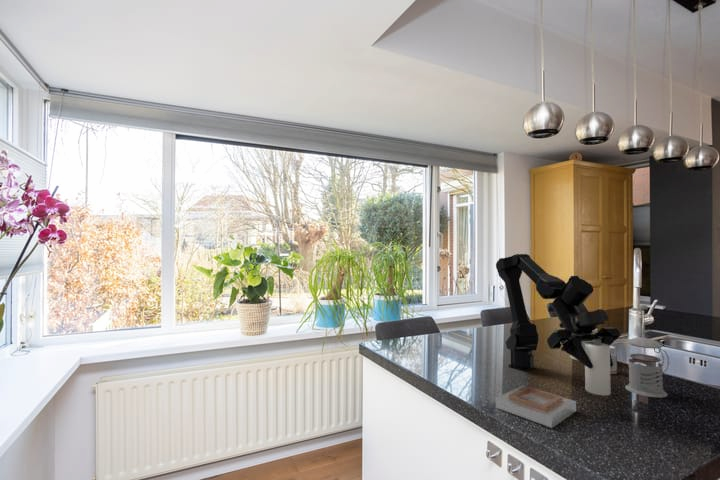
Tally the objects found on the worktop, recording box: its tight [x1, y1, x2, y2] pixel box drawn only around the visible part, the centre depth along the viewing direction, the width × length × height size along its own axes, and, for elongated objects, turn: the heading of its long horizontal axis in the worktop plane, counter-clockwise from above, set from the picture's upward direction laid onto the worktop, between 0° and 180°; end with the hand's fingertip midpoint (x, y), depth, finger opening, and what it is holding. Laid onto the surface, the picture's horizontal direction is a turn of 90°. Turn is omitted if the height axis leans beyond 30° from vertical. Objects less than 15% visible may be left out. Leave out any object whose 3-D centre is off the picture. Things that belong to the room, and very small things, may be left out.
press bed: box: [495, 385, 577, 429], centre depth 93 cm, size 14×14×4 cm
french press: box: [624, 304, 670, 399], centre depth 106 cm, size 10×12×25 cm
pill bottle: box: [609, 345, 618, 375], centre depth 122 cm, size 5×5×8 cm
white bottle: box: [584, 339, 612, 396], centre depth 94 cm, size 6×6×13 cm
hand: (601, 367), depth 93 cm, fingers closed on white bottle, 5 cm apart
